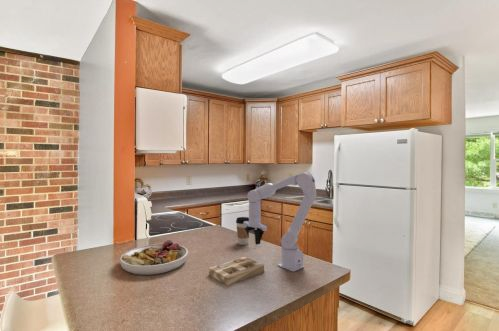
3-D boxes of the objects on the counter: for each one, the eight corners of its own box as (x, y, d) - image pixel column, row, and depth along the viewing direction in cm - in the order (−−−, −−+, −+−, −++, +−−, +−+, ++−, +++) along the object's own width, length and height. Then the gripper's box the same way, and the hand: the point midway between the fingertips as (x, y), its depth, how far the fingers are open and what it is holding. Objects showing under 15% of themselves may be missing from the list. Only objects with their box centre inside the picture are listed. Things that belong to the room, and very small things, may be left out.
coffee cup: (244, 246, 155) (244, 219, 154) (232, 243, 160) (233, 217, 160) (253, 242, 162) (253, 217, 161) (242, 240, 167) (242, 215, 166)
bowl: (169, 281, 112) (168, 261, 112) (104, 274, 118) (104, 256, 118) (197, 255, 142) (197, 240, 141) (144, 251, 148) (144, 236, 147)
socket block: (264, 271, 121) (264, 264, 121) (227, 285, 108) (227, 277, 108) (244, 263, 131) (244, 256, 130) (209, 274, 117) (209, 267, 117)
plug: (260, 247, 132) (260, 230, 132) (254, 249, 130) (254, 232, 130) (254, 245, 135) (254, 229, 135) (248, 247, 133) (248, 230, 132)
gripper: (238, 213, 135) (238, 241, 135) (259, 218, 124) (259, 248, 124) (249, 211, 140) (249, 238, 140) (270, 216, 129) (270, 245, 129)
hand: (254, 242), depth 133 cm, fingers closed on plug, 4 cm apart
